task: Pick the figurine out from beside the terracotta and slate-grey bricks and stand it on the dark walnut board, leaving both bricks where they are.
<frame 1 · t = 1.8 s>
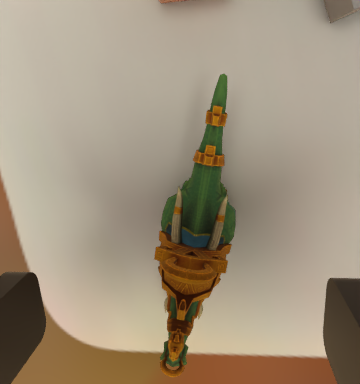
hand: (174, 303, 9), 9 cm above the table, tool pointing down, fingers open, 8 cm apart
figurine: (203, 197, 18), on the table
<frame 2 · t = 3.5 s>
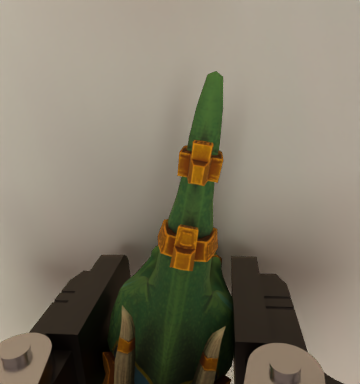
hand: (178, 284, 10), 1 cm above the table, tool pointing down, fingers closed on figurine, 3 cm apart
figurine: (186, 261, 12), on the table, touching gripper
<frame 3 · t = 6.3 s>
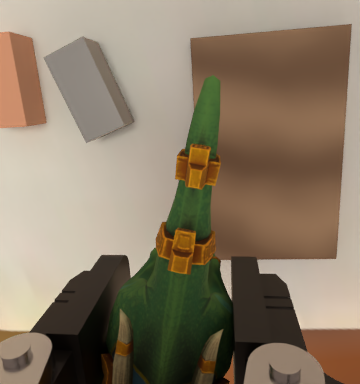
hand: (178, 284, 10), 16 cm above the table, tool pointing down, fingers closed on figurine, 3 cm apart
figurine: (185, 262, 12), point 15 cm above the table, touching gripper
terracotta brick: (21, 83, 26), on the table
slate-grey brick: (99, 91, 25), on the table
walnut board: (265, 152, 25), on the table
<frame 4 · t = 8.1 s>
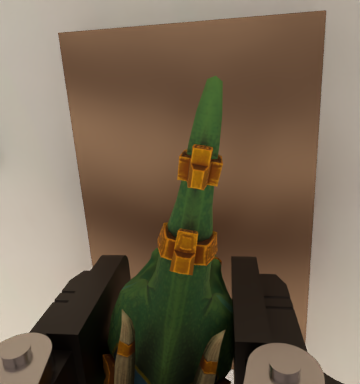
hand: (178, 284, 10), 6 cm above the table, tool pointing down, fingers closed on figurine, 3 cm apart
figurine: (186, 262, 12), point 5 cm above the table, touching gripper
walnut board: (196, 212, 16), on the table
when the fingers open (4 cm above the table, at t = 9.2 s): figurine drops 1 cm, resting on walnut board.
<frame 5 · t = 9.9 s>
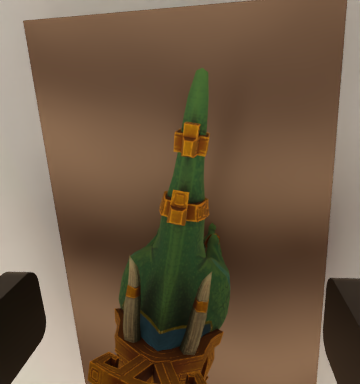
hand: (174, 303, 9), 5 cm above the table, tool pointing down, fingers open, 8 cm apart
figurine: (189, 242, 13), point 1 cm above the table, touching walnut board
walnut board: (190, 231, 14), on the table
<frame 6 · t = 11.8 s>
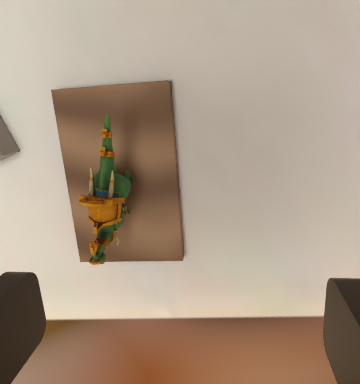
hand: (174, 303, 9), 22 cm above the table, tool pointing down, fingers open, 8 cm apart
figurine: (121, 178, 30), point 1 cm above the table, touching walnut board
walnut board: (124, 176, 31), on the table
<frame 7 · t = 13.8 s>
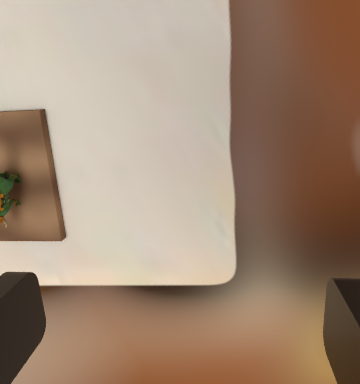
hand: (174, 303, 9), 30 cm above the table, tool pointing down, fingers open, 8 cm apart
figurine: (13, 179, 41), point 1 cm above the table, touching walnut board
walnut board: (17, 177, 42), on the table
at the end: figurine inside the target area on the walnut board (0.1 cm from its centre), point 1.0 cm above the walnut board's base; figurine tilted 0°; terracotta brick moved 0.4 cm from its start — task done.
